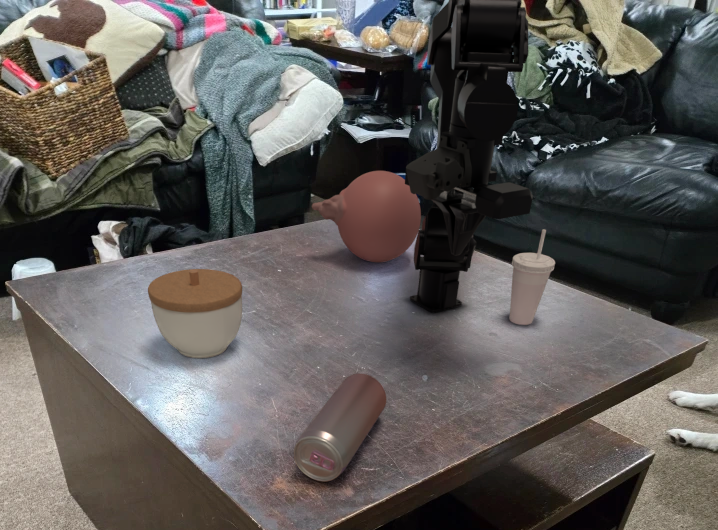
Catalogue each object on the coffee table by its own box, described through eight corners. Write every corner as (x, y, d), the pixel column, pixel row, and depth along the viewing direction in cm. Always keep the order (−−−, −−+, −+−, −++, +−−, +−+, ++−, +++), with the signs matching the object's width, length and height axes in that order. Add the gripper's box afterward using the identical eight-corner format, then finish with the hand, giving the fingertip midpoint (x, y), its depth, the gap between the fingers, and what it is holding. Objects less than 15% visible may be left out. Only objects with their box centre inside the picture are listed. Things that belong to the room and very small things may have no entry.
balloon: (314, 244, 128) (314, 159, 118) (414, 247, 128) (422, 163, 118) (309, 272, 116) (308, 180, 106) (418, 276, 116) (428, 184, 106)
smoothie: (545, 329, 100) (567, 237, 91) (504, 328, 100) (523, 236, 91) (536, 312, 105) (556, 223, 96) (497, 311, 105) (514, 222, 96)
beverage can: (380, 422, 80) (335, 491, 69) (337, 402, 80) (286, 468, 69) (394, 383, 76) (349, 451, 65) (349, 363, 76) (297, 426, 65)
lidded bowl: (212, 320, 99) (205, 248, 92) (264, 348, 93) (259, 273, 86) (141, 345, 92) (126, 269, 85) (191, 377, 86) (179, 297, 79)
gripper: (376, 116, 80) (369, 243, 90) (475, 145, 68) (454, 288, 78) (444, 110, 85) (431, 232, 95) (548, 136, 73) (520, 272, 83)
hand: (455, 254), depth 88 cm, fingers closed
